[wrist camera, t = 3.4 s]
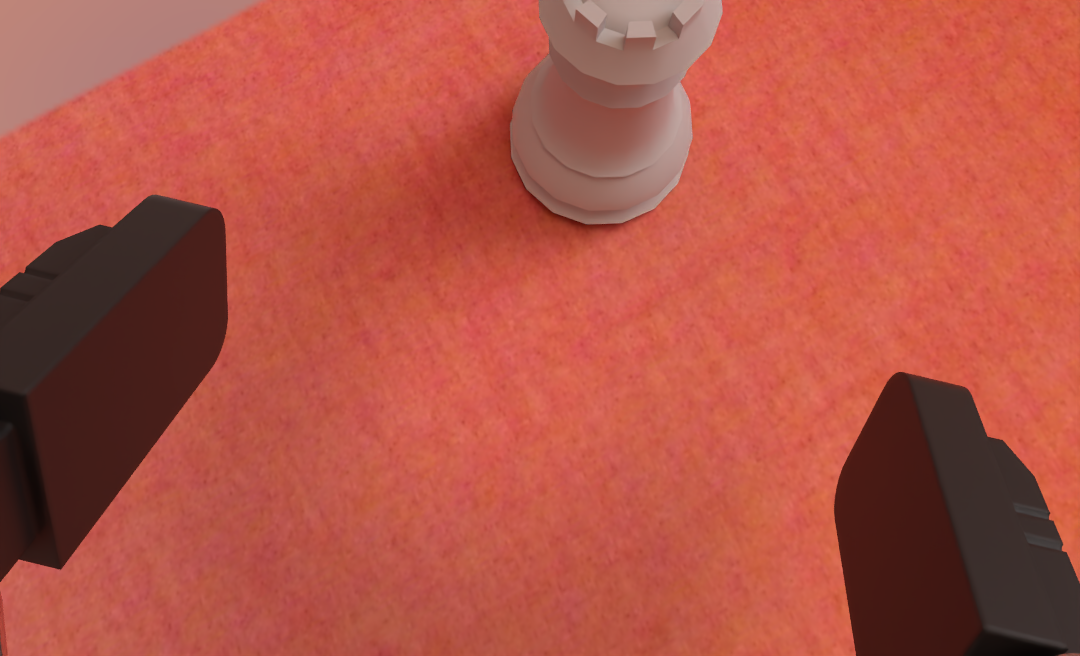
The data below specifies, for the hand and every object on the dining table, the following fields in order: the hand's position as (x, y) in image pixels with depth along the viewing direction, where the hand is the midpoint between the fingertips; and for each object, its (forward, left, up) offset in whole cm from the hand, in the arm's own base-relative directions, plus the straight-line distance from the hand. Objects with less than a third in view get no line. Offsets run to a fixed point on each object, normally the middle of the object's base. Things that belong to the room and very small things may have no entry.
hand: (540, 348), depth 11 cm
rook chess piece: (+1, +7, -11) cm, 13 cm away
